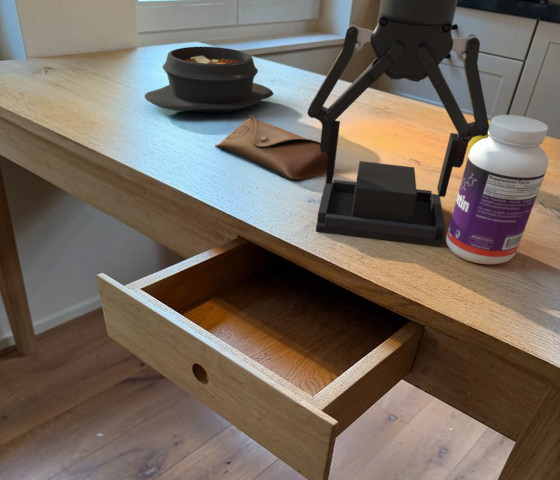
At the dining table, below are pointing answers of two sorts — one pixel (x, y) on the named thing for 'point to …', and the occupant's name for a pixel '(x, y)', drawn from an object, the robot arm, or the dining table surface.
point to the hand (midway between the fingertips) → (384, 186)
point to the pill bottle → (498, 190)
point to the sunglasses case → (276, 150)
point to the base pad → (339, 220)
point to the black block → (384, 192)
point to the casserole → (209, 81)
